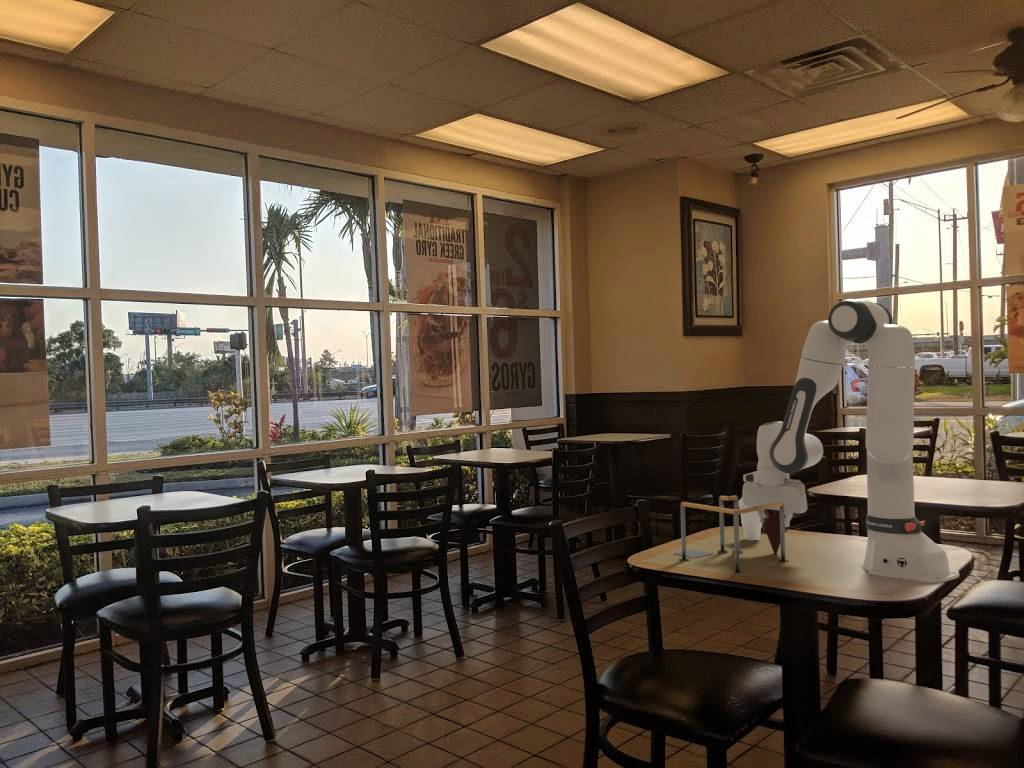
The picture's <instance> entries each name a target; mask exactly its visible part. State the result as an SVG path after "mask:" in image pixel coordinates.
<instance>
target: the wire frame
mask: <svg viewBox="0 0 1024 768" xmlns="http://www.w3.org/2000/svg"><path fill="white" fill-rule="evenodd" d="M724 501H727V502H728V501H733V508H726V507H724ZM738 503H739V496H738V495H731V496H730V495H729V496H728V495H720V496H719V497H718V506H713V505H707V504H702V503H701V504H700V503H693V502H687V501H681V503H680V532H681V535H680V537H681V538H680V539H681V552H682V556H681V558H679V559H678V560H681V561H680V562H684V561H685V562H689V561H690V558H688V557H686V551H687V538H686V537H687V536H686V534H687V533H686V508H687V507H688V508H692V509H693V508H694V509H699V510H705V511H711V512H712V511H713V512H717V513H719V541H720V543H719V546H720V547H719V548H720V549H718V550H717V553H718V554H723V555H724V554H728V552H729V551H728V550H725V547H726V546H725V514H730V515H733V539H734V540H733V545H734V547H733V549H734V550H732V554H734V570H732V571H731V573H735V574H742V573H743V571H742V570H740V569H741V568H740V561H741V560H740V555H741V554H742V553H744V552H743V550H740V522H739V521H740V517H739V515H741V514H742V513H747V512H753V511H758V510H764V509H769V508H775V507H780V540H781V543H780V559H778V560H777V562H779V563H783V564H785V563H788V562H789V560H788V559H786V532H785V515H784V504H783V502H777V503H771V504H766V505H760V506H754V507H749V508H743V509H740V508H739V506H738Z"/></svg>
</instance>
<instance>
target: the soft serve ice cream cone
mask: <svg viewBox="0 0 1024 768" xmlns="http://www.w3.org/2000/svg"><path fill="white" fill-rule="evenodd" d="M749 507H751V506H745V504H744V503H743V497H742V496H741V498H740V499H738V508H739V509H743V508H749ZM763 512H764V511H763ZM740 520H741V521H740V522H741V525H742V530H743V534H744V538H745V540H746V541H753V542H754V541H755V540H756V541H759V540H760V537H761V533H762V529H761V527H762V523H760V517H759V515H758V513H757V511H753V512H747V513H742V514H740Z"/></svg>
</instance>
